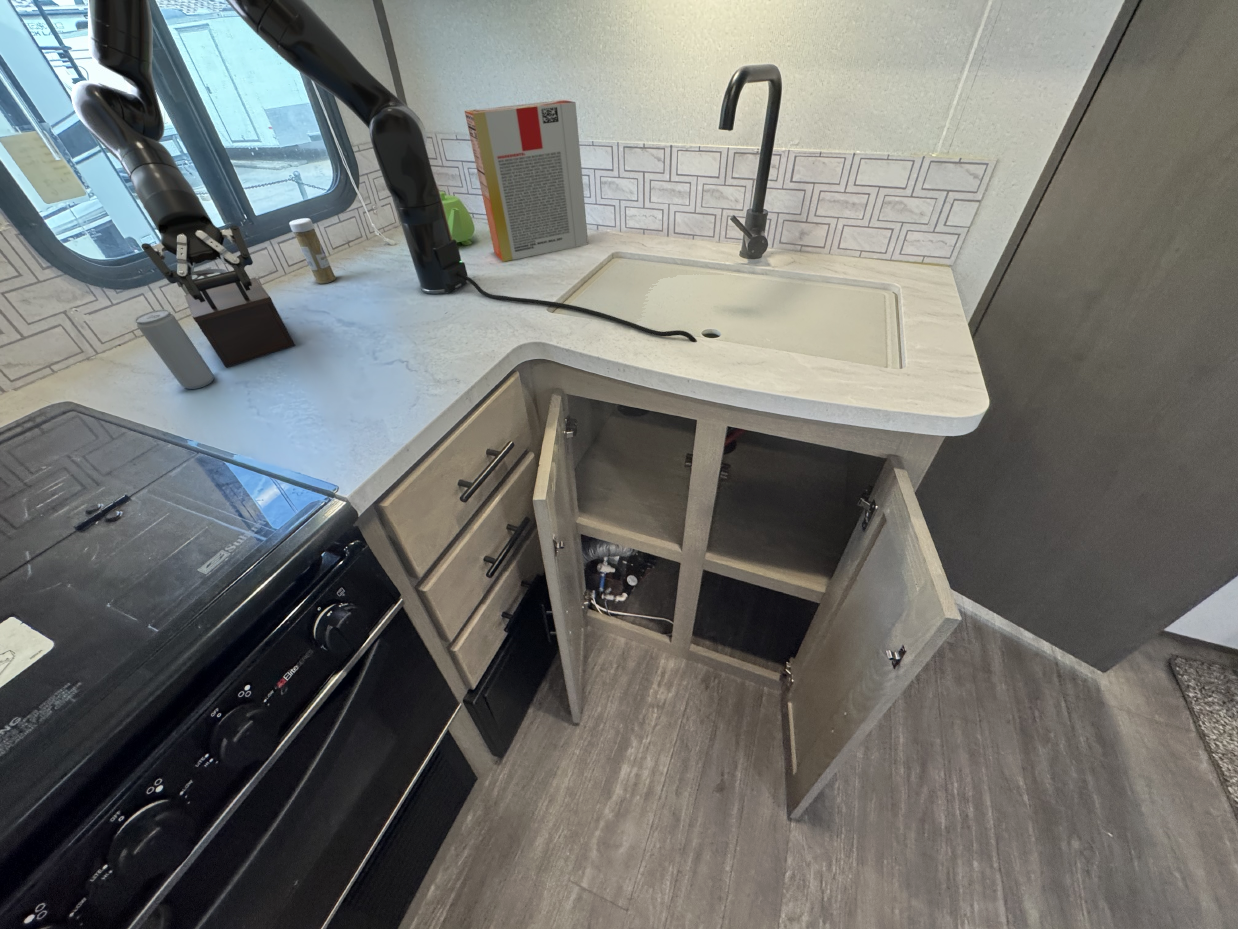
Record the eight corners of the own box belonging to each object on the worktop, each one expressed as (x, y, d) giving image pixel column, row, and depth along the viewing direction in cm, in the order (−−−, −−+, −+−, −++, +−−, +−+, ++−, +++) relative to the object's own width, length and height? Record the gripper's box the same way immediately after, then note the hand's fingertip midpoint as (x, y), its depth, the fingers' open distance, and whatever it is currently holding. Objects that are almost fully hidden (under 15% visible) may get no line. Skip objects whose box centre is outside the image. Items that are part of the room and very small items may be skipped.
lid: (272, 301, 87) (255, 268, 83) (195, 322, 81) (173, 288, 78) (257, 281, 95) (241, 251, 91) (187, 299, 89) (166, 268, 86)
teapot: (489, 246, 132) (477, 194, 123) (439, 258, 127) (424, 204, 118) (463, 230, 145) (451, 181, 137) (418, 240, 140) (403, 190, 131)
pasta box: (576, 236, 134) (562, 99, 115) (588, 244, 129) (575, 101, 109) (494, 252, 127) (464, 110, 108) (502, 261, 122) (472, 113, 102)
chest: (295, 345, 93) (271, 299, 87) (225, 367, 88) (195, 320, 82) (280, 324, 100) (257, 281, 95) (215, 344, 95) (187, 299, 89)
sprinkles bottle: (338, 280, 118) (312, 220, 109) (317, 285, 116) (289, 224, 107) (334, 275, 121) (309, 216, 112) (314, 280, 119) (287, 220, 110)
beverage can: (193, 376, 86) (146, 310, 78) (221, 374, 86) (177, 307, 78) (177, 391, 82) (125, 323, 74) (206, 389, 82) (158, 321, 74)
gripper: (106, 197, 75) (164, 295, 76) (215, 179, 81) (267, 269, 82) (130, 228, 82) (183, 317, 82) (228, 209, 88) (276, 292, 89)
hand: (225, 293), depth 82 cm, fingers closed on lid, 6 cm apart
